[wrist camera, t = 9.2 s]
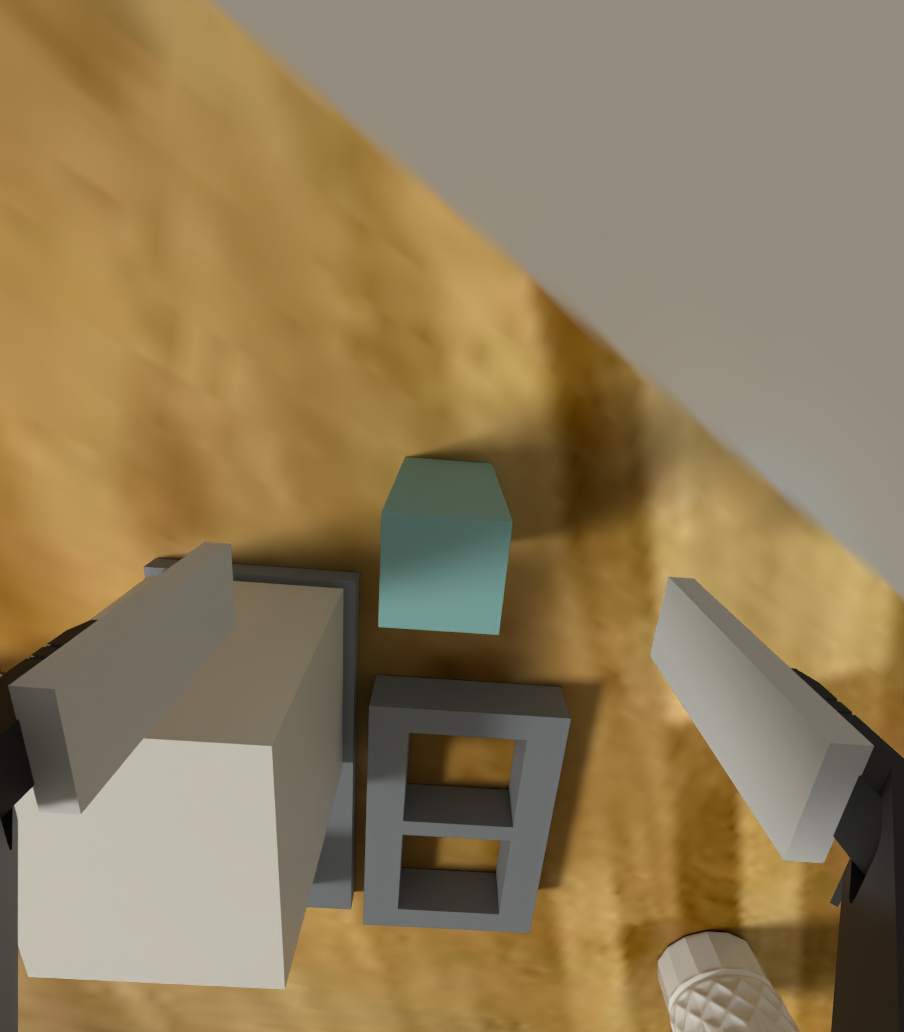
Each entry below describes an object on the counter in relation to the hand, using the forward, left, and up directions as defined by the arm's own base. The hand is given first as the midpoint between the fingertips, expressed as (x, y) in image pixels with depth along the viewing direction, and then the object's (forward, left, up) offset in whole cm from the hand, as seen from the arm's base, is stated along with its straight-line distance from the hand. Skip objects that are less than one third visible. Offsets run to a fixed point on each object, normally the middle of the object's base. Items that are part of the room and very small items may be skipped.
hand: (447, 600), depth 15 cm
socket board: (+18, +2, -9) cm, 20 cm away
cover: (+9, -9, -7) cm, 15 cm away
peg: (0, 0, -9) cm, 9 cm away
